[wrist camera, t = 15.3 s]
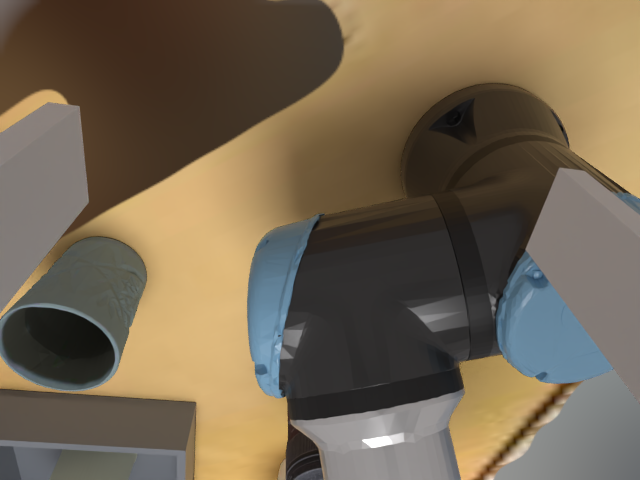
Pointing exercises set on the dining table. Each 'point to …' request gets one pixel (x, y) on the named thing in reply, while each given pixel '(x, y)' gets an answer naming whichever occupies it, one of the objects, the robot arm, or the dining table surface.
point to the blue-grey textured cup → (75, 317)
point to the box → (95, 433)
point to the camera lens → (302, 456)
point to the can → (93, 465)
